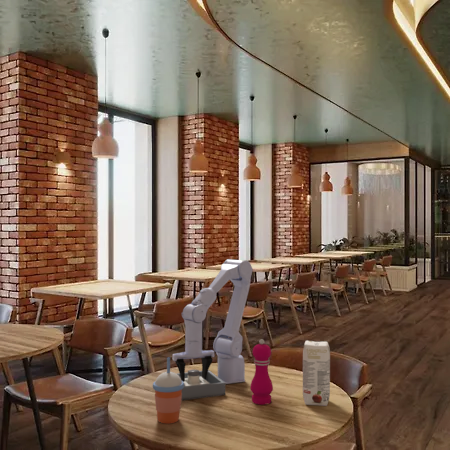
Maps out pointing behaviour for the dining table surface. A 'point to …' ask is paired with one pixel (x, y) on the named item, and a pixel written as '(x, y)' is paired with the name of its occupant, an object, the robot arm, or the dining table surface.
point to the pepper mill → (261, 375)
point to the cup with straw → (168, 396)
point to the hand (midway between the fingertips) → (193, 379)
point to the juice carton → (316, 373)
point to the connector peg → (193, 376)
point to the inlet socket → (201, 382)
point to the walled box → (204, 387)
